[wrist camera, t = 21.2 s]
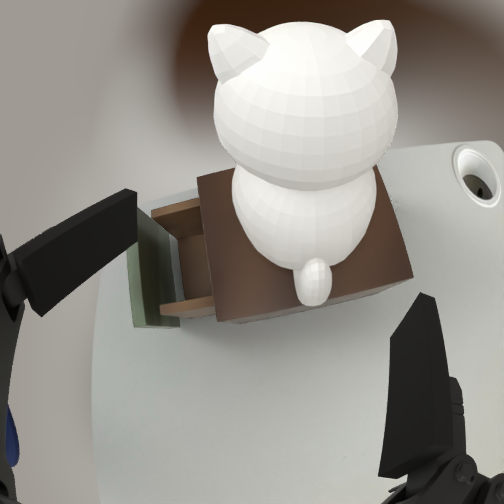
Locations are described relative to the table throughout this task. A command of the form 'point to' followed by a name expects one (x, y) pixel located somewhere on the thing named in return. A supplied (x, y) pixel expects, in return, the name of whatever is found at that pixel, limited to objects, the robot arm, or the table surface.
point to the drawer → (169, 267)
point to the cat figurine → (305, 138)
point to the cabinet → (282, 279)
